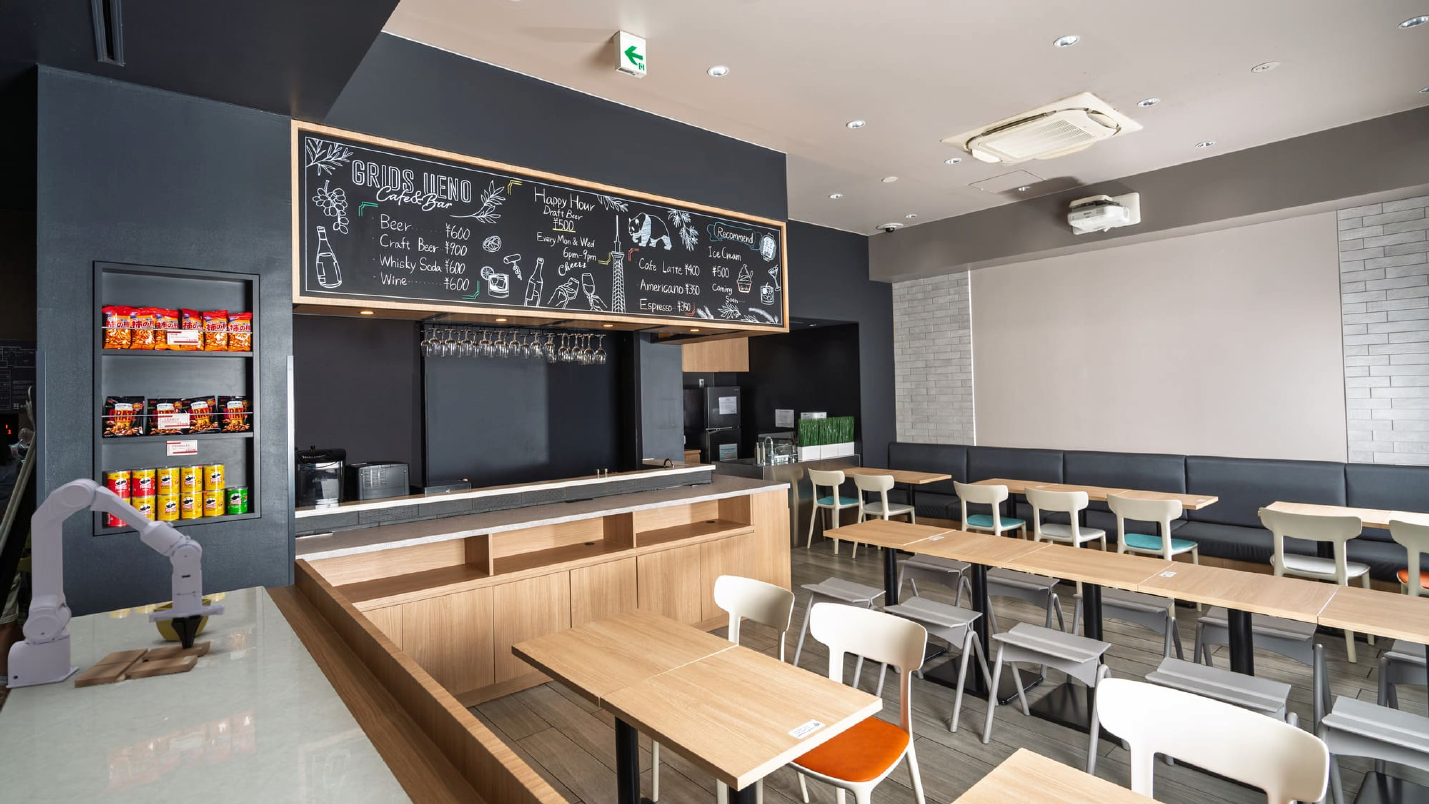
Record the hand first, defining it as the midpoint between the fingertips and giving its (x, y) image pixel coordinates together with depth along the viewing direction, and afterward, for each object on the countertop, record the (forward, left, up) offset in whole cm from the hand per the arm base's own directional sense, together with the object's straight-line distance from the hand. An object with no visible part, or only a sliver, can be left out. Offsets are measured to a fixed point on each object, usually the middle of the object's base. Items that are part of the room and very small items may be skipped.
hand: (187, 647), depth 165 cm
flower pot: (-5, +15, -2) cm, 16 cm away
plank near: (-2, -10, -2) cm, 10 cm away
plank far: (-2, 0, -2) cm, 3 cm away
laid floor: (-12, -5, -2) cm, 13 cm away
